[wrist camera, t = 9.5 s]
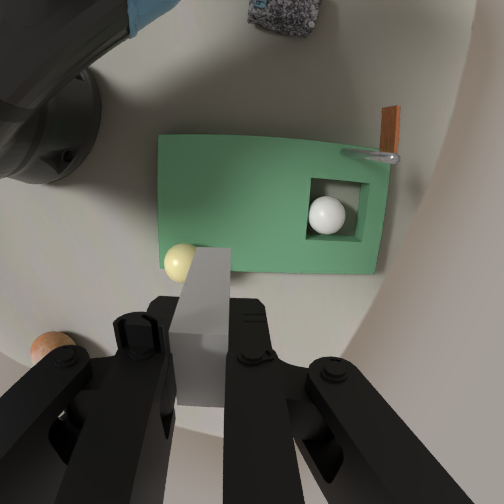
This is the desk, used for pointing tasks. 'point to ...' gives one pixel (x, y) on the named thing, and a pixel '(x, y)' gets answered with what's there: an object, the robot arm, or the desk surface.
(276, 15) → the rock
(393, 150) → the pin
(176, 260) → the ball
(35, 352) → the fruit
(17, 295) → the desk surface
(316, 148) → the green board with hole
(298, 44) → the desk surface
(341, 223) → the ball
